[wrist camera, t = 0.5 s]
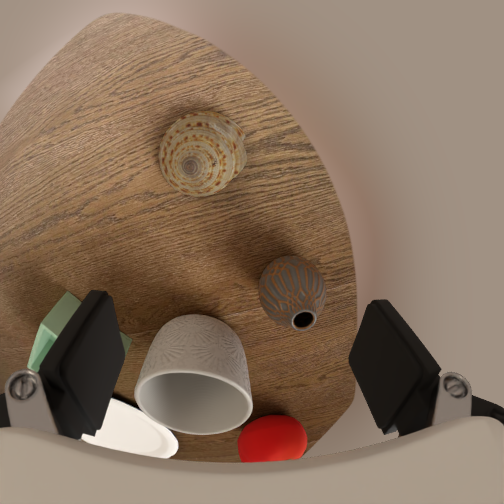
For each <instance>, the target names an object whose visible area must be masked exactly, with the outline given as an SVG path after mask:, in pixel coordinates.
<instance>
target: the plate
mask: <svg viewBox="0 0 504 504" xmlns="http://www.w3.org/2000/svg"><path fill="white" fill-rule="evenodd" d="M81 439H83V440H84V441H86V442H87V443H90V444H94V445H98V446H102V447H106V448H110V449H115V450H119V451H124V452H129V453H134V454H140V455H145V456H152V457H158V458H169V457H170V456H172V455H174V454H175V453H176V451H177V450H178V448H179V447H178V440H177V439H176V437H175V436H174V434H173V433H172V432H171V431H170V430H169V429H168V428H167V427H164V426H162V425H160V424H158V423H156V422H155V421H153V420H152V419H150V418H149V417H148V416H147V415H145V414H144V413H143V411H142V410H139V409H137V408H135V407H133V406H131V405H129V404H127V403H125V402H123V401H120V400H118V399H115V398H112V397H111V400H110V403H109V406H108V409H107V412H106V415H105V418H104V421H103V425H102V427H101V429H100V430H97V431H96V434H95V437H94V436H90V435H87V434H82V437H81Z"/></svg>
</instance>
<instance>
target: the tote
mask: <svg viewBox="0 0 504 504" xmlns="http://www.w3.org/2000/svg"><path fill="white" fill-rule="evenodd" d="M81 303H82V302H81V301H80V300H78V299H77V298H76V297H75V296H73V295H72V294H71V293H70V292H69V291H67V292H66V293H65V294H64V295H63V297H62V298H61V299H60V300H59V301H58V302H57V304H56V305H55V306H54V307H53V308H52V310H51V311H50V312H49V313H48V315H47V316H46V317H45V318H44V320H43V321H42V322H41V324H40V327H39V330H38V333H37V336H36V339H35V342H34V345H33V348H32V352H31V355H30V358H29V362H28V366H27V367H28V368H29V369H31V370H33V371H36V372H38V370H39V369H40V367H39V366H40V364H41V362H42V361H43V359H44V357H45V356H46V354H47V353H48V351H49V350H50V348H51V346H52V345H53V343H54V342H55V340H56V339H57V337H58V336H59V334H60V333H61V331H62V330H63V328H64V327H65V325H66V324H67V322H68V321H69V320H70V318H71V317H72V315H73V314H74V313H75V311H76V310H77V308H78V307H79V306H80V304H81ZM120 334H121V338H122V342H123V346H124V349H125V356H126V354H127V351H128V349H129V346H130V344H131V341H132V339H131V338H129V337H128V336H126V335H125V334H124V333H122V332H121V331H120Z"/></svg>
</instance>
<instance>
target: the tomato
mask: <svg viewBox="0 0 504 504" xmlns="http://www.w3.org/2000/svg"><path fill="white" fill-rule="evenodd" d="M237 442H238V451H239V456H240V459H241V461H242V462H243V463H251V462H271V461H284V460H294V459H299V458H300V457H301V456H302V455H303V453H304V451H305V449H306V447H307V435H306V432H305V430H304V428H303V426H302V425H301V423H300V422H299V421H297V420H296V419H295V418H293V417H290V416H287V415H267V416H264V417H260V418H258V419H256V420H254V421H252V422H251V423H249V424H248V425H246V426H245V428H244V429H243V430H242V432H241V434H240V436H239V438H238V441H237Z"/></svg>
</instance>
